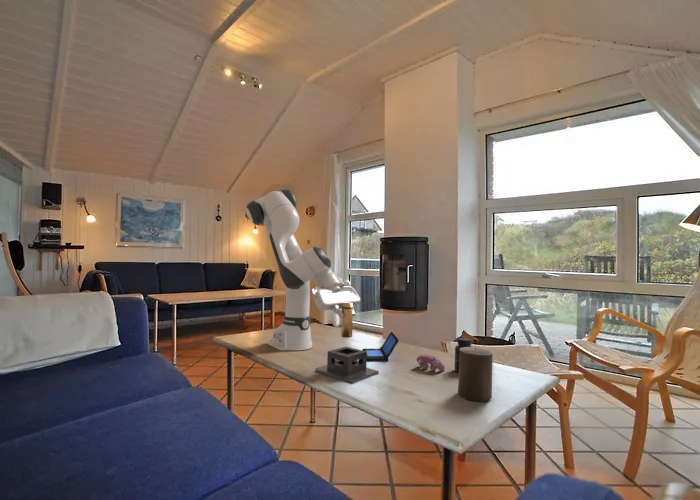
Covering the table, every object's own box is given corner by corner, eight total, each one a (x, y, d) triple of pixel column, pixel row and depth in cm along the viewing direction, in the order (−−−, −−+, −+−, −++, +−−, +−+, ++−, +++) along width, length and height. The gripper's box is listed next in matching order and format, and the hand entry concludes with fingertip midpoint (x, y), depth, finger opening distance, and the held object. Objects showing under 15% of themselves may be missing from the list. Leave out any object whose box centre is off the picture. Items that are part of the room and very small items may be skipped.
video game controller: (417, 371, 132) (413, 356, 130) (423, 363, 135) (419, 348, 133) (441, 377, 126) (437, 362, 124) (446, 369, 129) (442, 354, 127)
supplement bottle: (475, 375, 124) (475, 341, 124) (455, 373, 125) (455, 340, 126) (472, 369, 131) (472, 337, 131) (453, 367, 132) (454, 336, 133)
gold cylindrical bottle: (338, 336, 124) (339, 302, 124) (346, 334, 127) (347, 302, 127) (346, 338, 121) (347, 304, 122) (354, 336, 124) (355, 303, 125)
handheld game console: (361, 351, 153) (362, 330, 154) (391, 351, 154) (391, 331, 155) (365, 362, 138) (366, 339, 138) (398, 362, 139) (399, 339, 139)
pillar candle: (474, 404, 99) (475, 351, 99) (451, 391, 108) (452, 343, 108) (499, 399, 103) (500, 349, 103) (475, 388, 112) (476, 341, 112)
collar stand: (315, 371, 125) (315, 350, 125) (341, 362, 135) (342, 343, 135) (352, 383, 113) (353, 360, 113) (378, 373, 123) (378, 352, 124)
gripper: (313, 282, 122) (332, 313, 115) (352, 280, 137) (370, 308, 130) (305, 294, 124) (322, 325, 118) (343, 291, 140) (361, 318, 133)
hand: (348, 316), depth 124 cm, fingers closed on gold cylindrical bottle, 4 cm apart
